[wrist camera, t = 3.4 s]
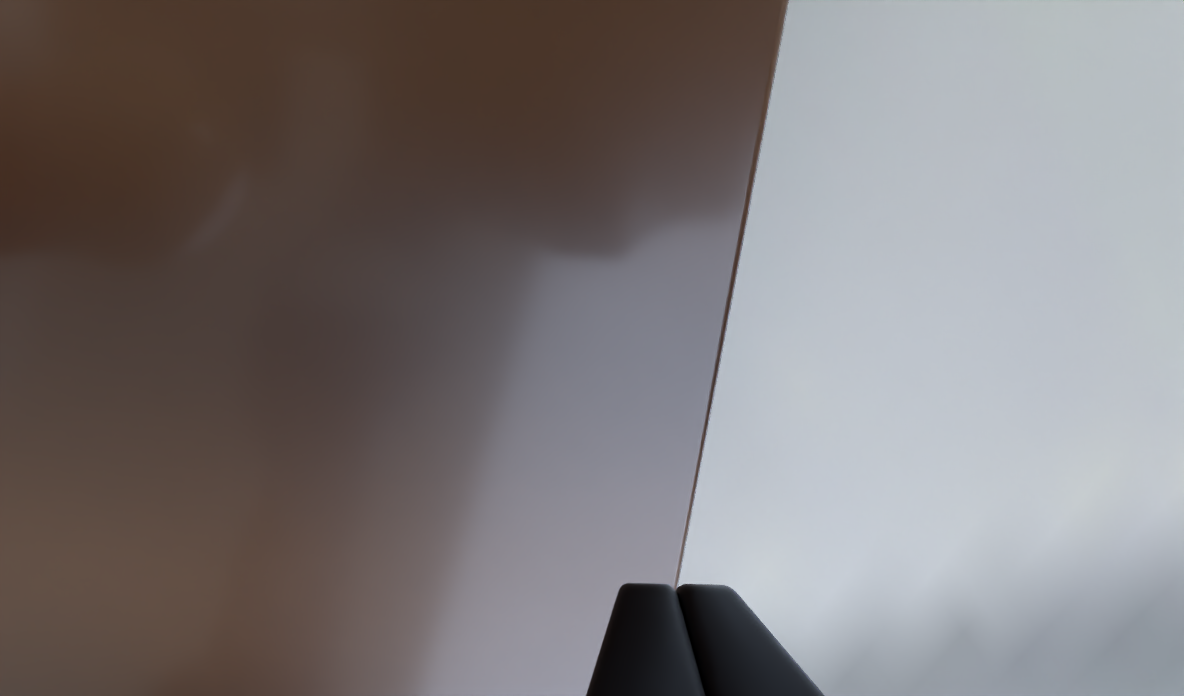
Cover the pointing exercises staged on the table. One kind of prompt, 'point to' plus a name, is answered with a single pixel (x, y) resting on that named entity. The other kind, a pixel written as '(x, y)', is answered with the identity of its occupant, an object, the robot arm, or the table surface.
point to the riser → (358, 332)
